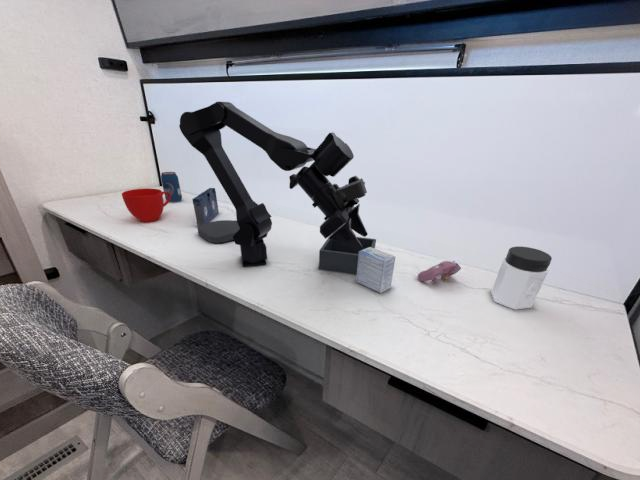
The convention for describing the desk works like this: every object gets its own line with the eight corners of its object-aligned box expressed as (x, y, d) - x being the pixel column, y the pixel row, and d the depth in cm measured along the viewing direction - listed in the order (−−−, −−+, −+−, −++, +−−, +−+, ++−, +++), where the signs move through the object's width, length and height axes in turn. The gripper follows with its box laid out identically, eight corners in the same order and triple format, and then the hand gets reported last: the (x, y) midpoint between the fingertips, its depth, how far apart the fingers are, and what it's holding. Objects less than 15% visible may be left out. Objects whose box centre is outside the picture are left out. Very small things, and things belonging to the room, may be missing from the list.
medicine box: (391, 288, 75) (396, 256, 71) (380, 294, 73) (385, 261, 68) (366, 277, 80) (370, 246, 76) (355, 282, 77) (358, 250, 73)
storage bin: (318, 269, 83) (319, 250, 80) (330, 250, 95) (330, 233, 92) (368, 276, 81) (370, 257, 78) (373, 256, 92) (376, 239, 89)
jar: (506, 311, 68) (527, 262, 62) (482, 293, 75) (499, 247, 68) (539, 307, 70) (563, 259, 63) (513, 290, 76) (532, 245, 70)
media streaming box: (213, 245, 95) (211, 236, 94) (194, 233, 104) (193, 224, 103) (254, 236, 103) (253, 227, 102) (233, 225, 113) (232, 217, 111)
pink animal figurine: (424, 290, 78) (439, 273, 72) (414, 276, 80) (428, 259, 74) (451, 282, 82) (467, 266, 76) (442, 270, 84) (457, 253, 78)
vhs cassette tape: (213, 212, 125) (209, 187, 120) (220, 213, 125) (216, 187, 120) (196, 227, 109) (190, 199, 104) (204, 227, 109) (199, 199, 104)
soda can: (162, 202, 136) (156, 173, 130) (171, 198, 142) (165, 171, 136) (177, 203, 136) (171, 174, 129) (185, 199, 141) (180, 172, 135)
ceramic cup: (184, 216, 120) (178, 190, 115) (142, 227, 108) (134, 198, 102) (163, 210, 126) (157, 185, 120) (122, 220, 113) (113, 192, 108)
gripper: (337, 171, 57) (388, 234, 61) (353, 159, 73) (393, 210, 76) (298, 209, 63) (346, 265, 67) (321, 191, 79) (359, 236, 82)
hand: (363, 242), depth 73 cm, fingers open, 9 cm apart
